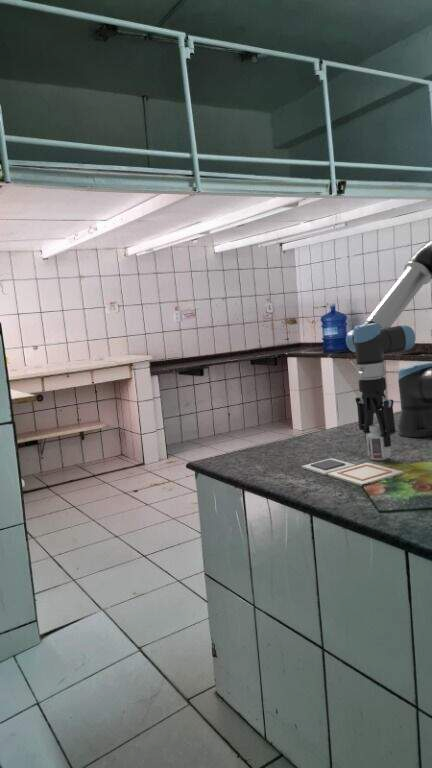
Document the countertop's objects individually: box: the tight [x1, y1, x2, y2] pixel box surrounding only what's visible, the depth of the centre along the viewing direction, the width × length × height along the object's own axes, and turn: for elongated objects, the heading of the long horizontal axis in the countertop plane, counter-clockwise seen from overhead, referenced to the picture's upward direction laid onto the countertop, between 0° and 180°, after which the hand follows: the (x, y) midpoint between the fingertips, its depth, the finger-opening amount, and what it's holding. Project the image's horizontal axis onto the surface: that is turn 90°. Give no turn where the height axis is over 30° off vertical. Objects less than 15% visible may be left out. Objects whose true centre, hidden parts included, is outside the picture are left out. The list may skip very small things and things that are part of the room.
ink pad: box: [300, 457, 356, 476], centre depth 163 cm, size 11×11×1 cm
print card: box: [327, 462, 404, 487], centre depth 152 cm, size 14×14×1 cm
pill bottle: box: [368, 423, 390, 461], centre depth 165 cm, size 5×5×10 cm
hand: (379, 455), depth 165 cm, fingers closed on pill bottle, 5 cm apart
